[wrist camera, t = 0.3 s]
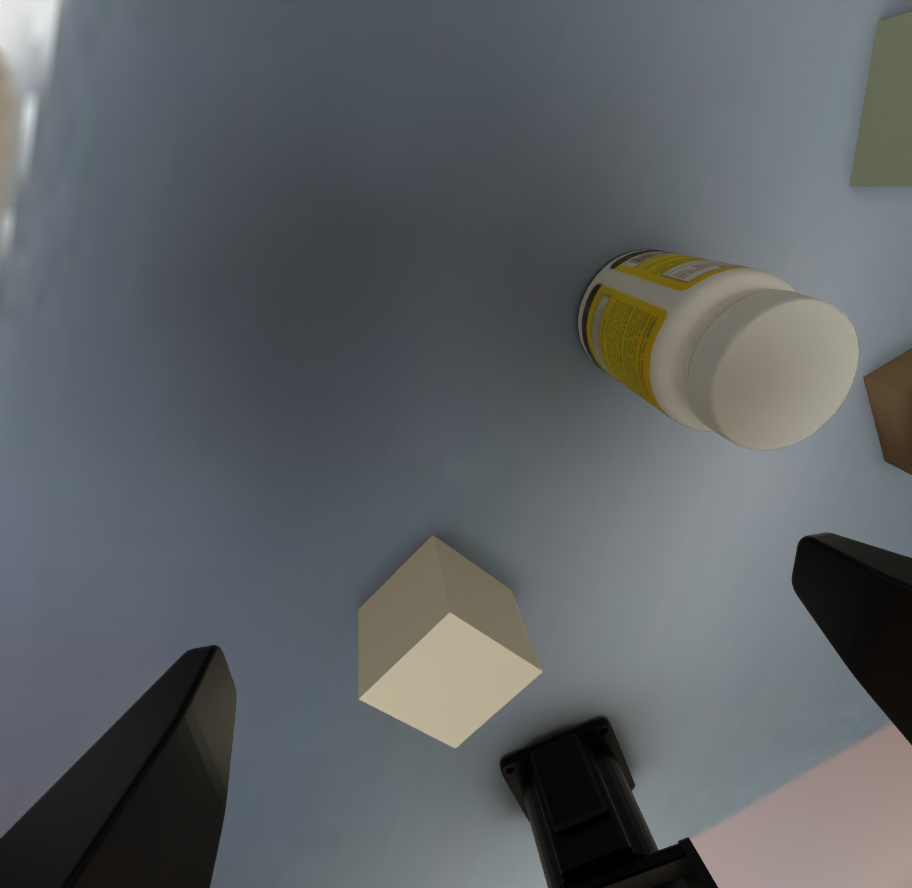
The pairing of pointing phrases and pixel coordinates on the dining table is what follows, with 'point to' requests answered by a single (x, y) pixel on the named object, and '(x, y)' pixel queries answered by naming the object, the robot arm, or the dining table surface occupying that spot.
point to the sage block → (887, 109)
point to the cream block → (443, 645)
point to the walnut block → (893, 409)
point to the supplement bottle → (720, 346)
